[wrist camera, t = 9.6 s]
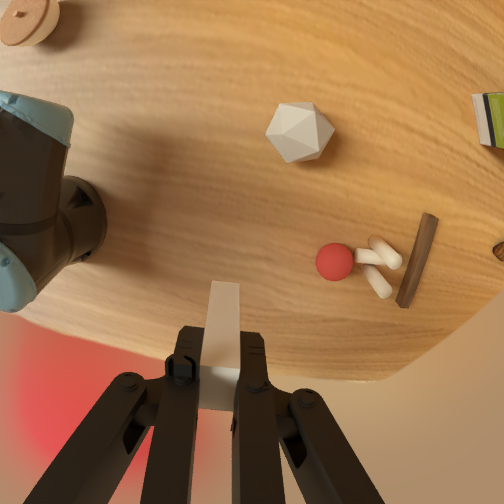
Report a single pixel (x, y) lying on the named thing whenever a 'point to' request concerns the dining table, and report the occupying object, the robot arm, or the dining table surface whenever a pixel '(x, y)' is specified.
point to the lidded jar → (28, 22)
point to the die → (299, 131)
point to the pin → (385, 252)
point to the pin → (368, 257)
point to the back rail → (417, 260)
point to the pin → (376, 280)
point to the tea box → (490, 118)
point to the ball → (334, 262)
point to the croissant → (499, 251)
